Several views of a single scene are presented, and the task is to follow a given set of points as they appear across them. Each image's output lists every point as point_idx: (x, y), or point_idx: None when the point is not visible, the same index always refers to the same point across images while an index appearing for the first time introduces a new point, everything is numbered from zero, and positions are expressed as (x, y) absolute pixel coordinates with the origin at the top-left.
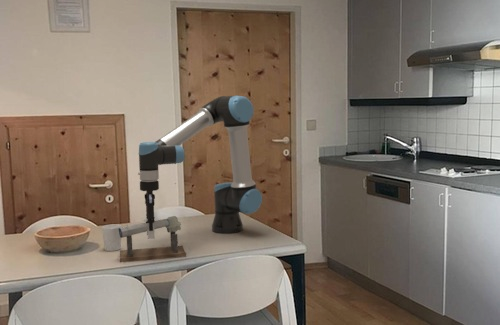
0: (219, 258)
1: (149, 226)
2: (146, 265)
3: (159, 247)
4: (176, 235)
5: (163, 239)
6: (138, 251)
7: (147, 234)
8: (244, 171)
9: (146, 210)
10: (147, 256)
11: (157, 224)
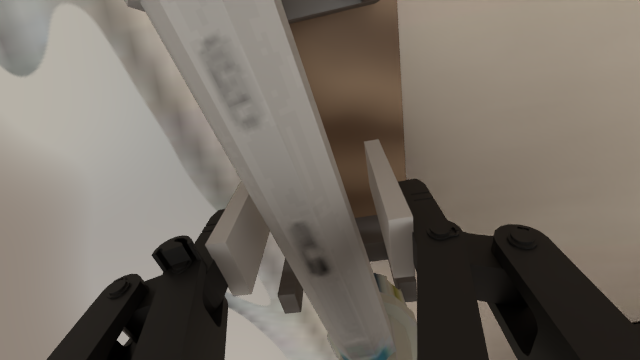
0: (268, 328)
1: (197, 240)
2: (160, 125)
3: (401, 164)
4: (285, 306)
5: (636, 151)
6: (339, 56)
7: (365, 147)
8: None
9: (553, 324)
10: None
11: (302, 284)
